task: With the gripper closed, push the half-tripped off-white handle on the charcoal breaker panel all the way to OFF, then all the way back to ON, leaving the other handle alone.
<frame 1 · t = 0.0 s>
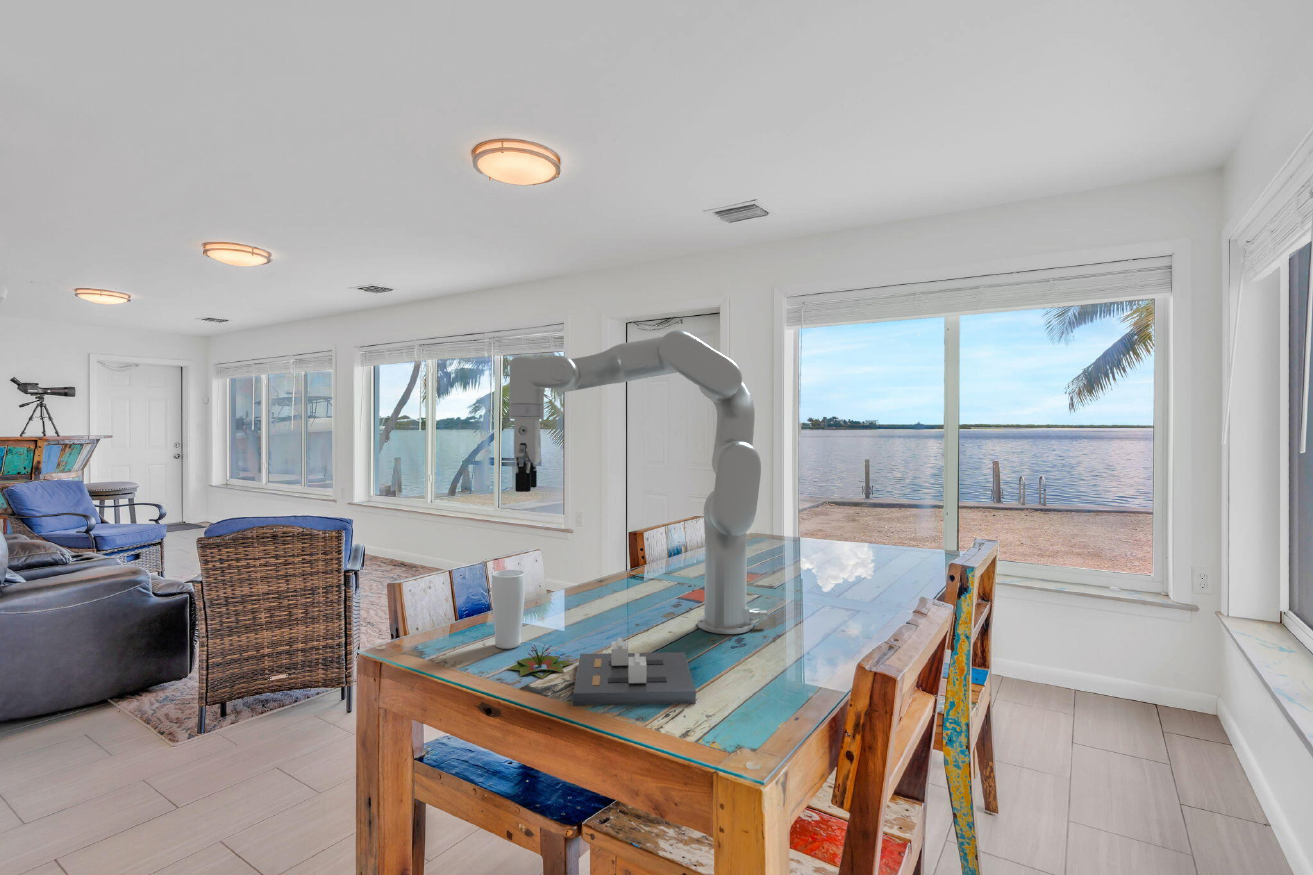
hand: (526, 489, 142), 31 cm above the table, tool pointing down, fingers open, 9 cm apart
tripped breaker: (637, 667, 109), point 4 cm above the table, slide at 3.0 cm
breaker panel: (633, 682, 113), on the table
lily flower: (540, 670, 120), on the table
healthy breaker: (619, 651, 117), point 4 cm above the table, slide at 6.0 cm
drinking glass: (508, 646, 131), on the table
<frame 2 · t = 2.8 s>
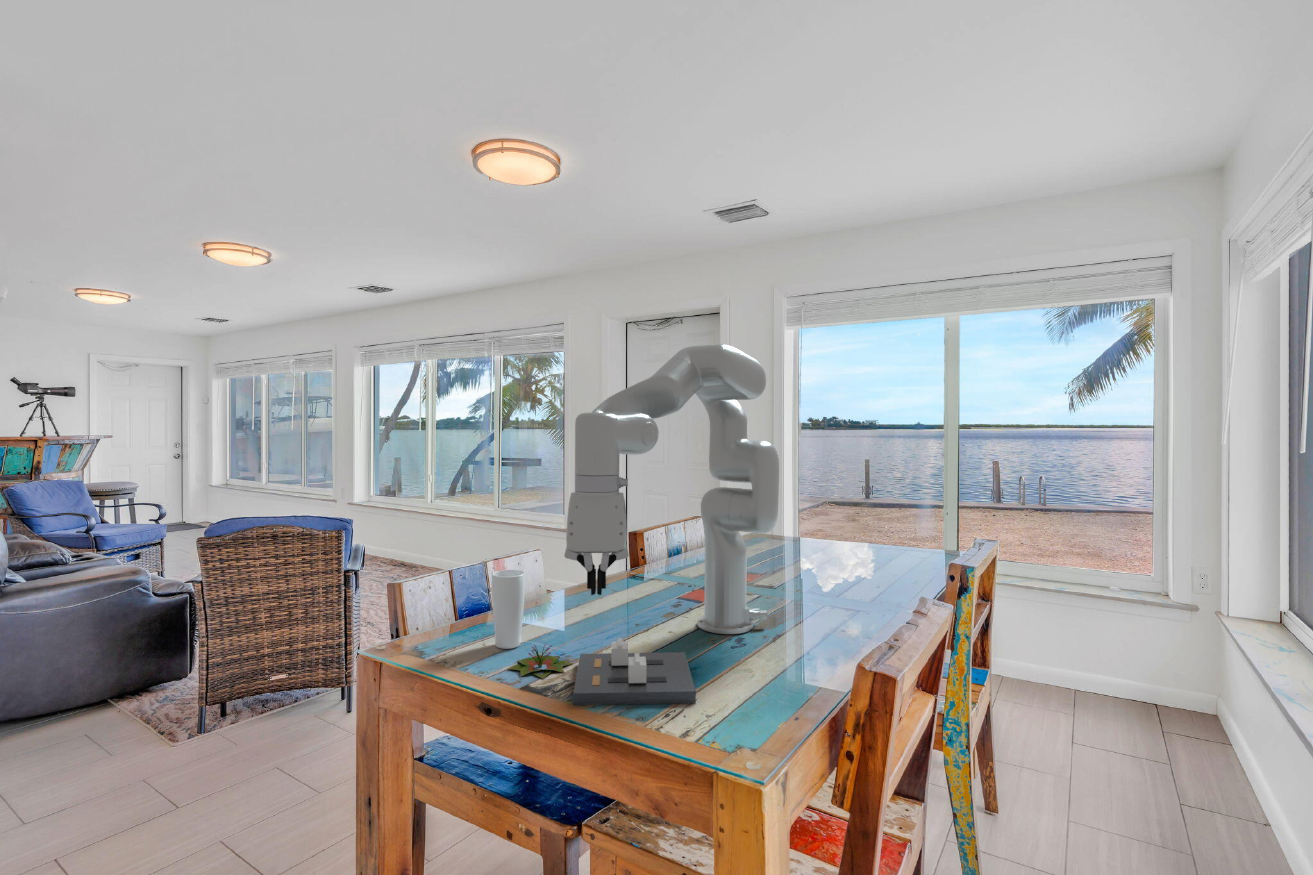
hand: (596, 592, 108), 17 cm above the table, tool pointing down, fingers closed
nothing on the table moved.
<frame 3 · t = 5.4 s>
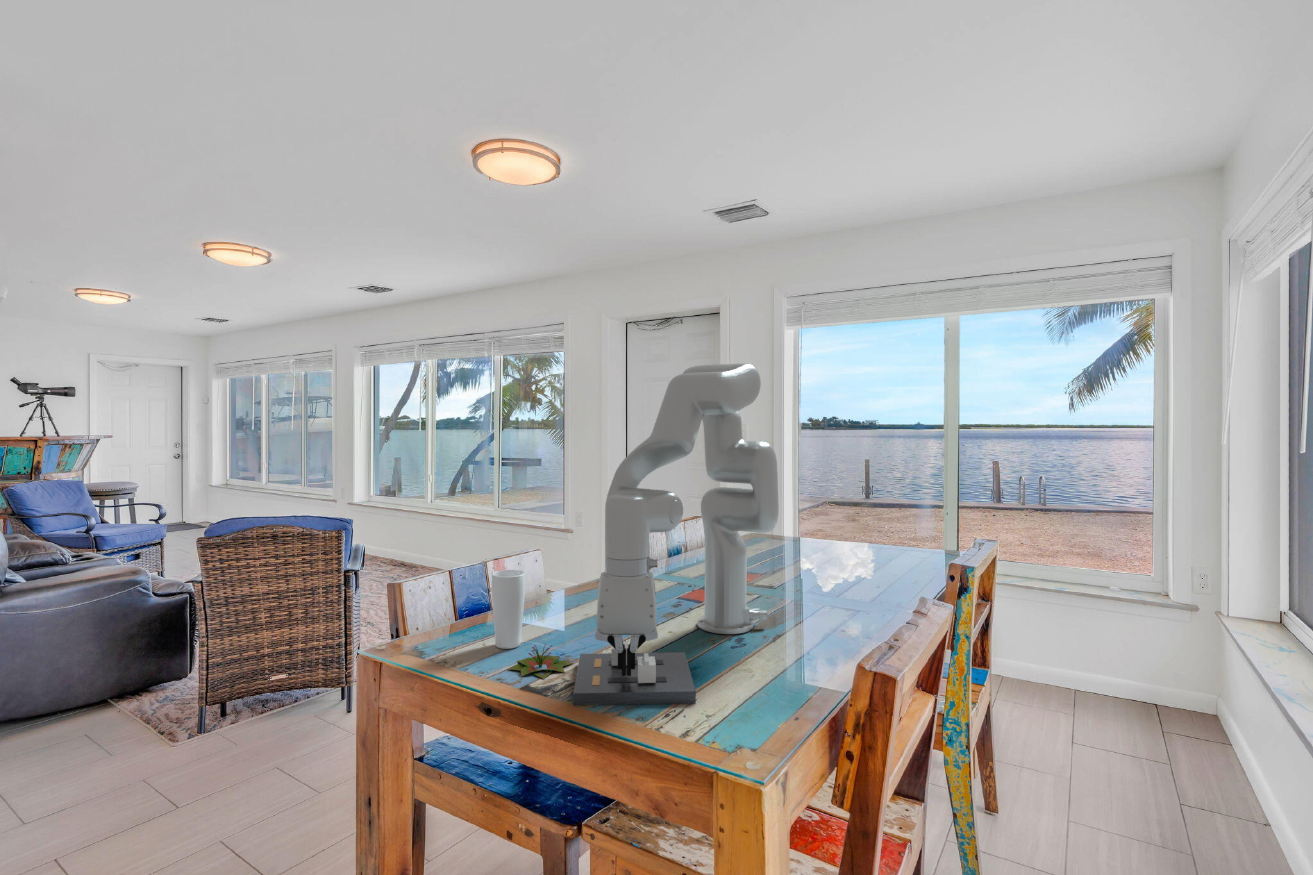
hand: (626, 672, 109), 3 cm above the table, tool pointing down, fingers closed
tripped breaker: (646, 667, 109), point 4 cm above the table, slide at 1.4 cm, touching gripper
everything else where it was.
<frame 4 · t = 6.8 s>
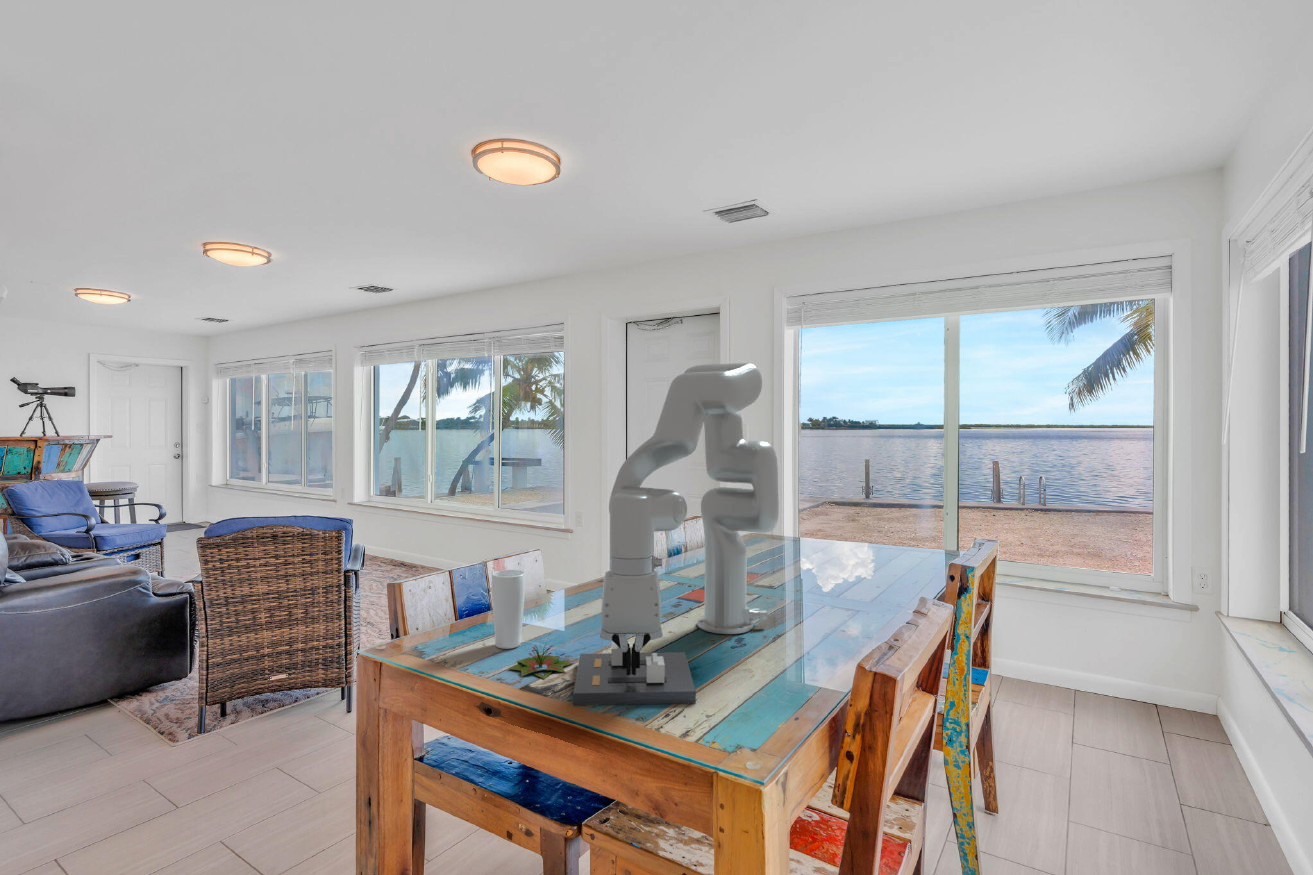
hand: (631, 672, 109), 3 cm above the table, tool pointing down, fingers closed
tripped breaker: (655, 667, 109), point 4 cm above the table, slide at -0.1 cm
everything else where it was.
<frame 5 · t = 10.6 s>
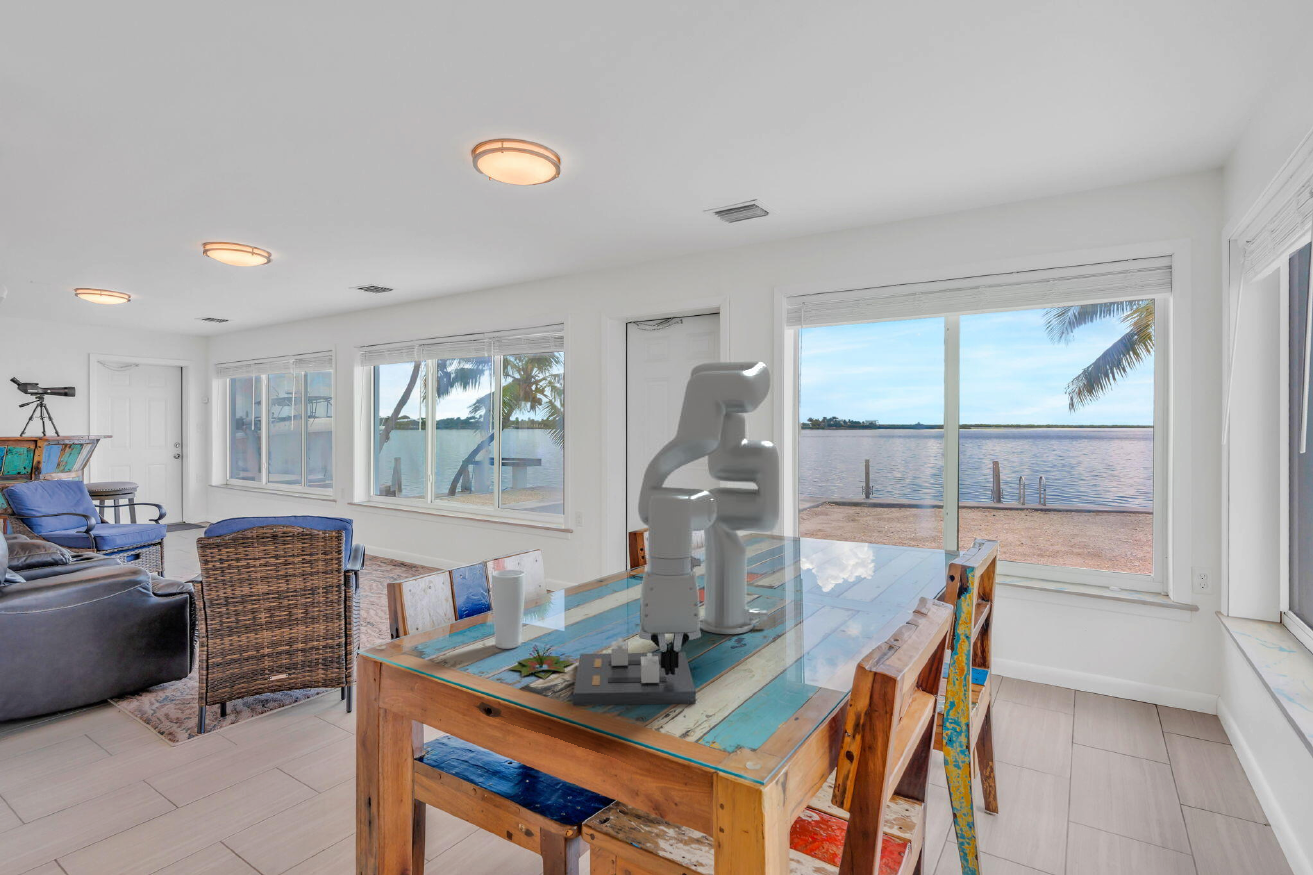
hand: (669, 671, 109), 3 cm above the table, tool pointing down, fingers closed
tripped breaker: (649, 667, 109), point 4 cm above the table, slide at 0.9 cm, touching gripper
everything else where it was.
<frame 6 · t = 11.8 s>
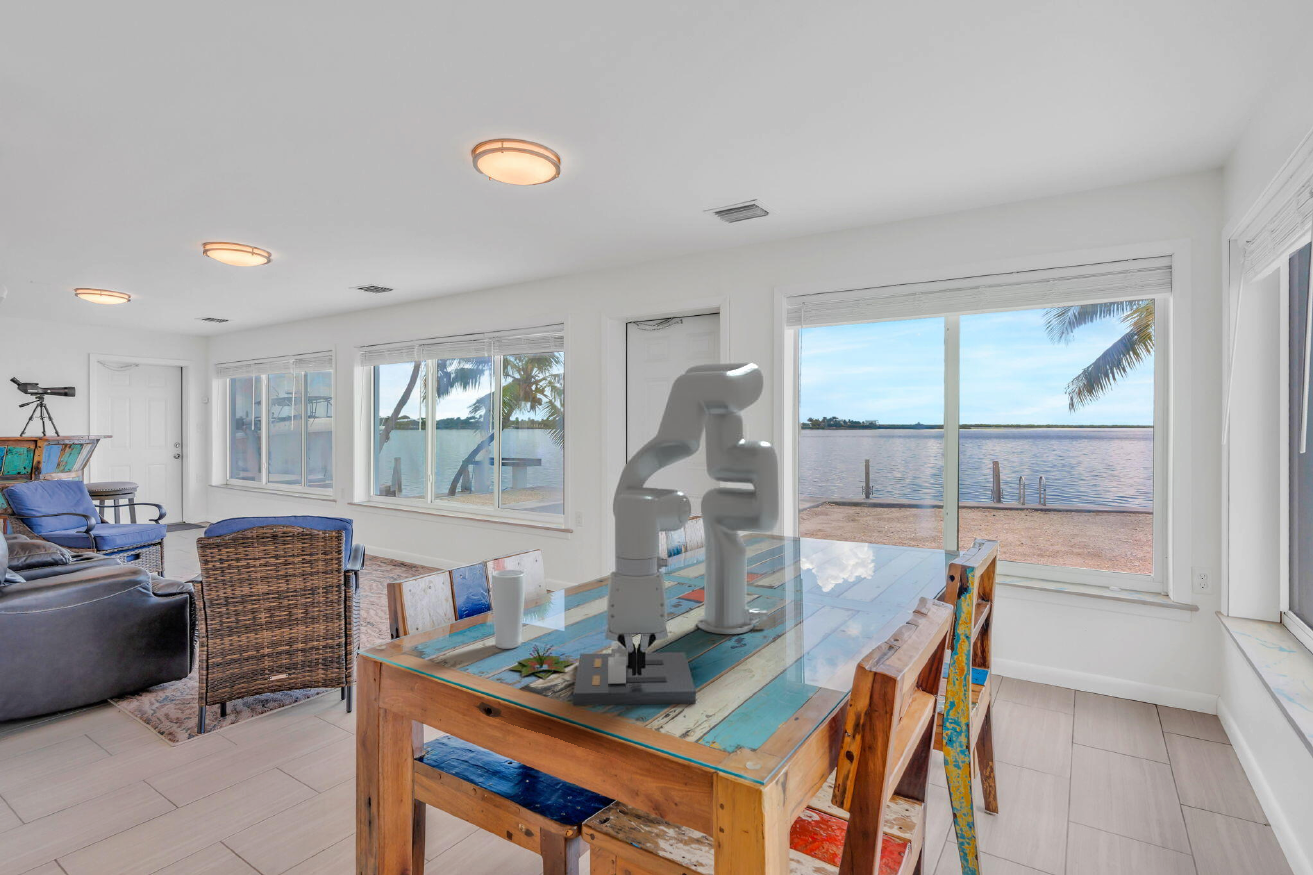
hand: (636, 672, 109), 3 cm above the table, tool pointing down, fingers closed
tripped breaker: (617, 668, 109), point 4 cm above the table, slide at 6.4 cm, touching gripper
everything else where it was.
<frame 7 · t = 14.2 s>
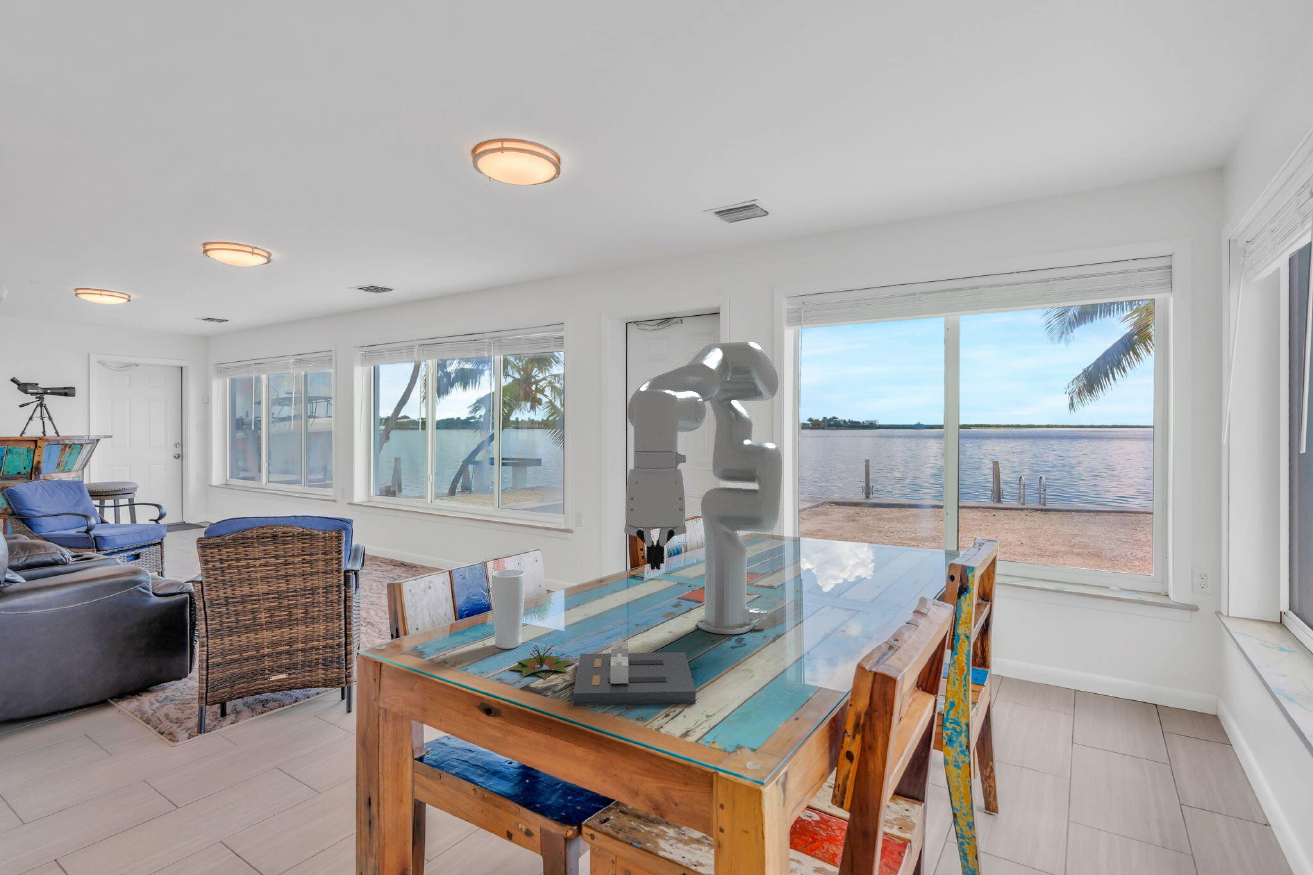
hand: (655, 567, 109), 21 cm above the table, tool pointing down, fingers closed
tripped breaker: (619, 668, 109), point 4 cm above the table, slide at 6.1 cm
everything else where it was.
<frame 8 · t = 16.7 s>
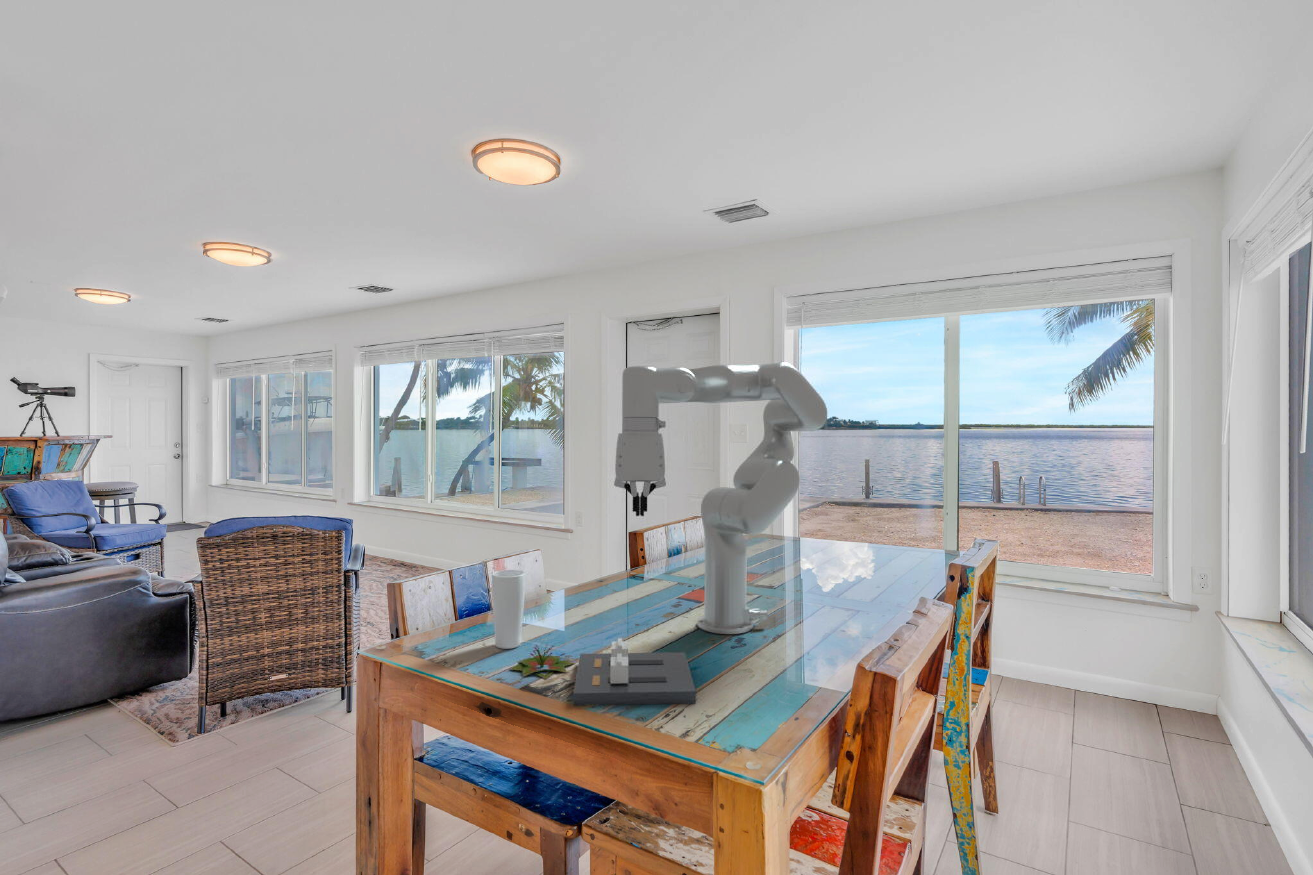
hand: (639, 515, 131), 27 cm above the table, tool pointing down, fingers closed
nothing on the table moved.
at the end: tripped breaker slide at 6.1 cm; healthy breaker slide at 6.0 cm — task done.
